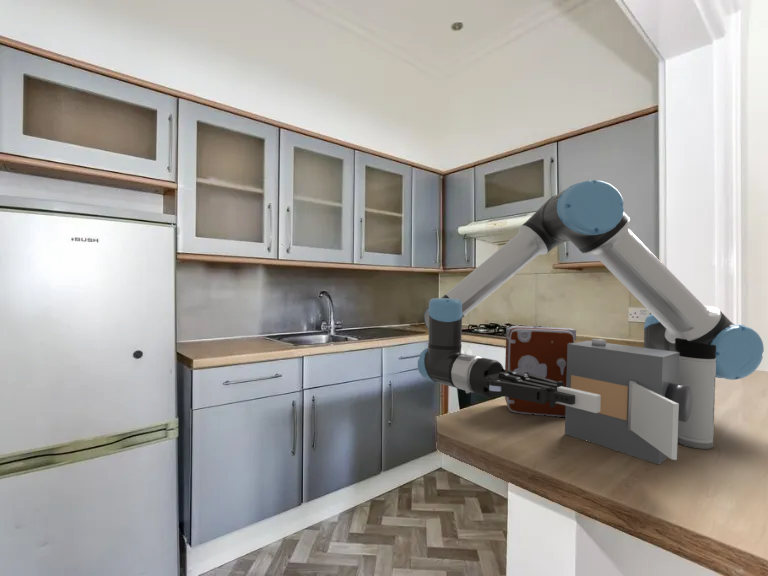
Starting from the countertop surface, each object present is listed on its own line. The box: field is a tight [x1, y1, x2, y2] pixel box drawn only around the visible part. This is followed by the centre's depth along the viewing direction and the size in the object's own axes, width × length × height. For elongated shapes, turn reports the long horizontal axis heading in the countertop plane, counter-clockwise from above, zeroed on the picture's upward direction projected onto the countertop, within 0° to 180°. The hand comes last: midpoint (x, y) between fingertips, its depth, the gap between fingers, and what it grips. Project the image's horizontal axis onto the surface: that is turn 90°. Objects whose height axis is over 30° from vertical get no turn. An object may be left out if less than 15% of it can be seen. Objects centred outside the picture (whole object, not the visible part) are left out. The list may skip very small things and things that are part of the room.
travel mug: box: [675, 338, 716, 450], centre depth 75 cm, size 6×7×20 cm
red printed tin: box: [504, 325, 577, 418], centre depth 91 cm, size 9×19×20 cm, turn 78°
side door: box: [628, 381, 679, 461], centre depth 62 cm, size 12×1×8 cm, turn 173°
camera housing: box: [564, 338, 692, 465], centre depth 73 cm, size 18×9×19 cm, turn 38°
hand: (598, 403), depth 63 cm, fingers closed
